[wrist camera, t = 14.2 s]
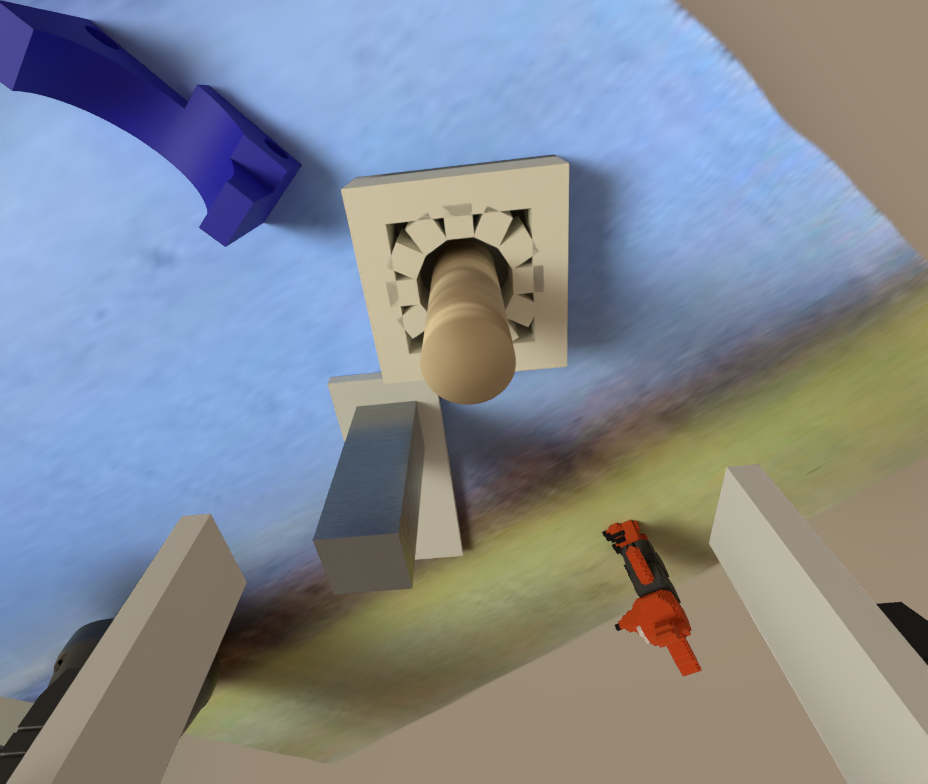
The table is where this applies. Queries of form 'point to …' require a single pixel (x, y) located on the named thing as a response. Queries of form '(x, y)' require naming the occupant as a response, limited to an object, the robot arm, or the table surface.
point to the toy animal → (652, 597)
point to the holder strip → (437, 490)
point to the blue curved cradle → (149, 114)
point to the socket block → (464, 217)
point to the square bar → (374, 502)
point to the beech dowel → (466, 327)
